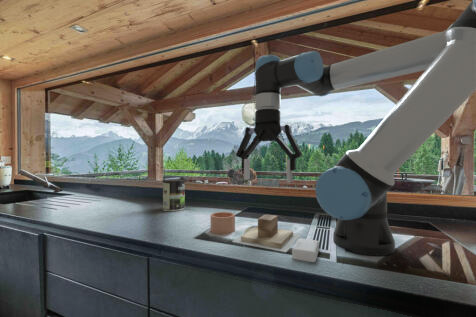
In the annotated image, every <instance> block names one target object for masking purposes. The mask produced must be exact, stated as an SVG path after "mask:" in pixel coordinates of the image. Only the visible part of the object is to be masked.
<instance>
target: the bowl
mask: <svg viewBox="0 0 476 317" xmlns="http://www.w3.org/2000/svg"><path fill="white" fill-rule="evenodd" d="M210 232H211V233H213V234H216V235H228V234H233V233H234V232H236V214H235V213H233V212H230V211H218V212H214V213H211V214H210Z"/></svg>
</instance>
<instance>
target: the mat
mask: <svg viewBox="0 0 476 317" xmlns="http://www.w3.org/2000/svg"><path fill="white" fill-rule="evenodd" d="M254 228H255V226H254V227H253V228H251V229H249V230H248V231H246V232H245V233H243V234H242V235H240V236H238V237H237V238H235V239H233V240H232V241H231V243H237V244H240V245H241V244H242V245H245V246H251V247H257V248H261V249H262V248H263V249H266V250H272V251H276V252H281V253H287V252H288V251H289V250H290V248H291V247H292V246H293V245H295V243H296V242H297V240H298V239H299V238H300V236H301V235H302V233H296V232H293V236H292V237H291V238H290V239H289V240H288V241H287V242H286V243H285V244H284V246H283V247H282V248H278V247H272V246H267V245H262V244H256V243H251V242H246V241H241V236H243V235H244V234H246V233H247V232H249V231H251V230H252V229H254Z"/></svg>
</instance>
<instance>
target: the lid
mask: <svg viewBox="0 0 476 317" xmlns="http://www.w3.org/2000/svg"><path fill="white" fill-rule="evenodd" d="M278 220H279V217H278V215H276V214H275V215H274V214H273V215H272V214H263V215H262V216H260V217H258V218H257V226H256V227H255V226H254V227H255V228H254V227H253V228H254V229H253V228H251V229H252V230H251V229H250V230H251V231H249V230H248V231H249V232H248V231H246V232H247V233H246V232H245V233H246V234H245V233H243V234H244V235H243V234H242V235H243V236H241V235H240V236H241V241H246V242H251V243H256V244H262V245H267V246H272V247H278V248H282V247H283V246H284V244H285V243H286V242H287V241H288V240H289V239H290V238H291V237H292V236H293V233H294V231H293V230H286V229H281V228H278V224H279V223H278V222H279V221H278Z"/></svg>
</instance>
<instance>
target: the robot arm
mask: <svg viewBox="0 0 476 317" xmlns="http://www.w3.org/2000/svg"><path fill="white" fill-rule="evenodd" d="M467 5H468V6H467V7H466V8H465V9H464V10H463V11H462V12H461V14H460V15H459V16H458V18H457V19H456V20H455V21H454V22H453V23H451V25H450V26H449V27H448V28H447V29H445V30H443V31H440V32H436V33H433V34H430V35H426V36H423V37H420V38H416V39H413V40H410V41H405V42H403V43H399V44H397V45H392V46H389V47H385V48H383V49H380V50H376V51H372V52H370V53H366V54H362V55H360V56H356V57H353V58H348V59H346V60H343V61H339V62H336V63H333V64H329V65H325V66H324V62H323V58H322V56H321V54H320V52H318V51H316V50H312V51H307V52H302V53H300V54H296V55H294V56H291V57H287V58H285V59H282V60H281V58H280V57H279V56H278V55H274V54H268V55H261V56H259V58H257V60H256V62H255V71H254V76H255V77H254V78H255V92H254V93H255V101H254V102H255V103H254V109H255V112H254V122H255V123H254V124H255V126H254V127H248V126H246V127H245V131H244V136H243V138H242V140H241V142H240V144H239V147H238V149H237V151H236V153H235V154H236V155H235V156H236V157H237V158H240V159H241V169H242V170H243V180H244V181H248V180H251V158H249V157H250V155H251V154H252V153H253V151H254V150H255V149H257V146H258V145H260V144H261V142H274V141H275V142H276V144H278V146H279V147H280V148H281V150H283V152H284V153H285V154H286V155H287V156H288V158H289V159H287V158H286V183H289V184H290V183H292V182H293V171H296V167H297V166H296V164H297V163H296V162H297V159H299V158H302V157H303V153H302V151H301V149H300V147H299V144H298V143H297V141H296V139H295V137H294V135H293V132H292V126H291V125H289V124H285V125H281V111H280V110H281V91H282V90H281V89H285V88H290V87H293V86H297V87H299V88H301V89H302V90H305V91H306V92H309V93H310V94H312V95H313V96H316V97H325V96H327V95H329V94H331V93H332V92H333V91H336V90H341V89H346V88H351V87H354V86H359V85H365V84H368V83H372V82H378V81H383V80H387V79H390V78H391V79H392V78H396V77H401V76H404V75H409V74H414V73H418V72H423V73H422V74H421V75H420V76H419V77H418V78H417V80H416V81H415V82H414V83H413V84H412V85H411V86H410V88H409V89H408V90H407V91H406V93H405V94H404V95H403V96H402V97H401V98H400V100H398V101H397V103H396V104H395V105H394V106H393V108H392V109H391V110H390V111H389V112H388V114H386V116H385V117H384V118H383V119H382V120H381V122H380V123H379V124H378V125H377V127H375V129H374V130H373V131H372V132H371V134H369V135H368V137H367V138H366V139H365V141H364V142H363V143H362V144H361V145H360V146H359V148H357V149H351V150H347V151H346V152H345V153H344V154H343V156H342V157H341V158H340V159H339V160H338V161H337V163H336V164H335V165H334V166H333V167H330V168H328V169H326V170H325V171H324V172H322V173H321V174H320V175H319V177H318V178H317V180H316V183H315V188H314V191H315V196H316V200H317V202H318V204H319V206H320V208H321V209H322V210H323V211H324V212H325V213H326V214H328V215H329V216H331V217H332V218H335V219H337V222H336V225H335V228H334V229H333V234H332V236H333V237H332V238H333V242H334V244H335V245H336V246H338V247H339V248H341V249H344V250H346V251H348V252H352V253H355V254H360V255H365V256H366V255H367V256H381V257H382V256H388V255H392V254H394V253H395V252H396V241H395V239H394V235H393V233H392V230H391V227H390V225H389V222H388V191H389V190H390V189H391V188H392V187H394V185H395V176H394V175H395V173H396V172H397V171H398V170H399V169H400V168H401V167H403V165H404V164H405V163H406V161H408V160H409V159H410V158H411V156H413V155H414V154H415V152H417V151H418V150H419V148H420V147H422V145H424V144H425V142H426V141H427V140H428V139H429V138H431V136H433V135H434V133H436V131H437V130H439V128H440V127H441V126H443V124H444V123H445V122H446V121H447V120H448V119H449V118H450V117H451V116H452V115H453V114H454V113H455V112H456V111H457V110H458V109H459V108H460V107H462V105H463V104H464V103H465V102H466V101H467V100H468V99H469V98H470V97H471V96H472V95H473V94H474V93H475V91H476V0H471V2H470V3H469V4H467ZM282 132H283V133H285V135H286V138H287V140H288V142H289V144H290V146H291V148H290V147H289V146H288V145H287V144H286V143H285V141H284V140H283V139H282V137H281V136H280V134H281V133H282ZM253 134H255V136H253ZM252 136H253V139H252V141H251V138H252ZM250 141H251V142H250ZM249 142H250V144H249ZM292 150H293V151H292Z"/></svg>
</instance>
